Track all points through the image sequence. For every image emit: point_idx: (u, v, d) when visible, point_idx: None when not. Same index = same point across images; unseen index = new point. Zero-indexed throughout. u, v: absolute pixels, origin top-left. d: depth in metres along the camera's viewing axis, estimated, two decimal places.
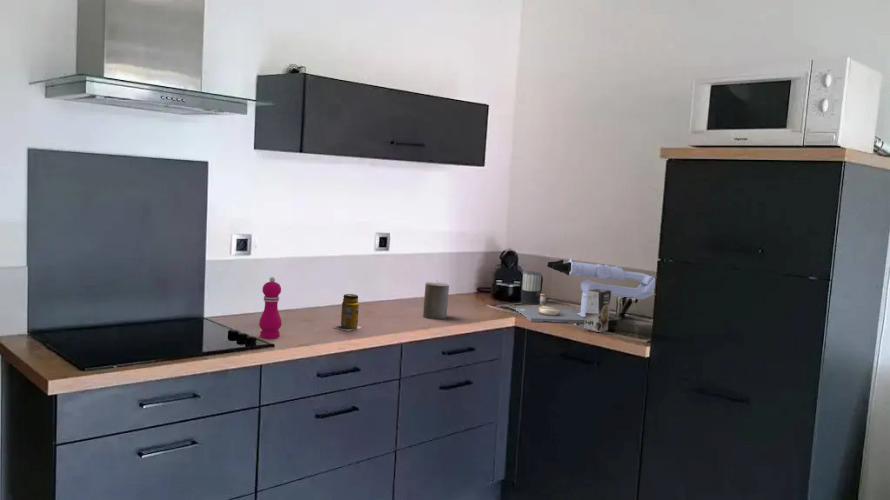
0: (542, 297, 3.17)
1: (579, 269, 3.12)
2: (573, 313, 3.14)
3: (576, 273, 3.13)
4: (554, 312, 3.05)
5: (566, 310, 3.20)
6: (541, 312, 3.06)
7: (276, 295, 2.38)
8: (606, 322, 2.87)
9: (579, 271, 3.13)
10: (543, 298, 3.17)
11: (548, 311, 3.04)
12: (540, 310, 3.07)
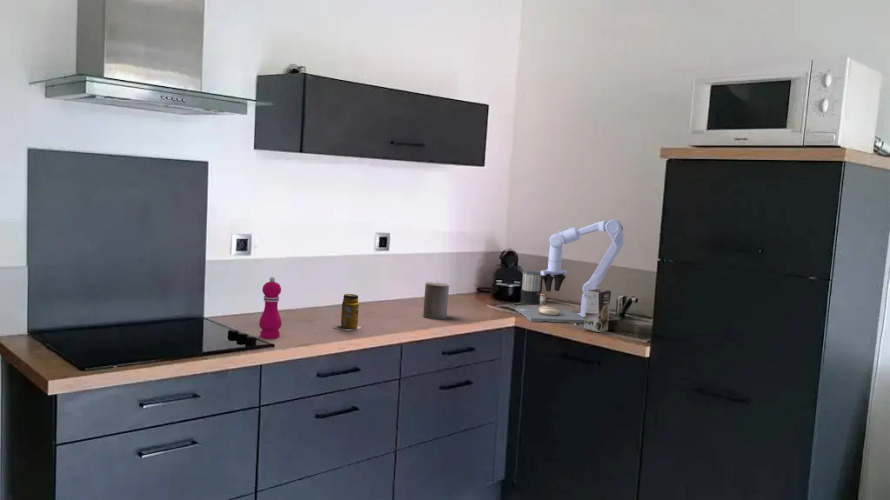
0: (542, 297, 3.17)
1: (550, 263, 3.19)
2: (573, 313, 3.14)
3: (554, 266, 3.18)
4: (554, 312, 3.05)
5: (566, 310, 3.20)
6: (541, 312, 3.06)
7: (276, 295, 2.38)
8: (606, 322, 2.87)
9: (551, 263, 3.19)
10: (543, 298, 3.17)
11: (548, 311, 3.04)
12: (540, 310, 3.07)
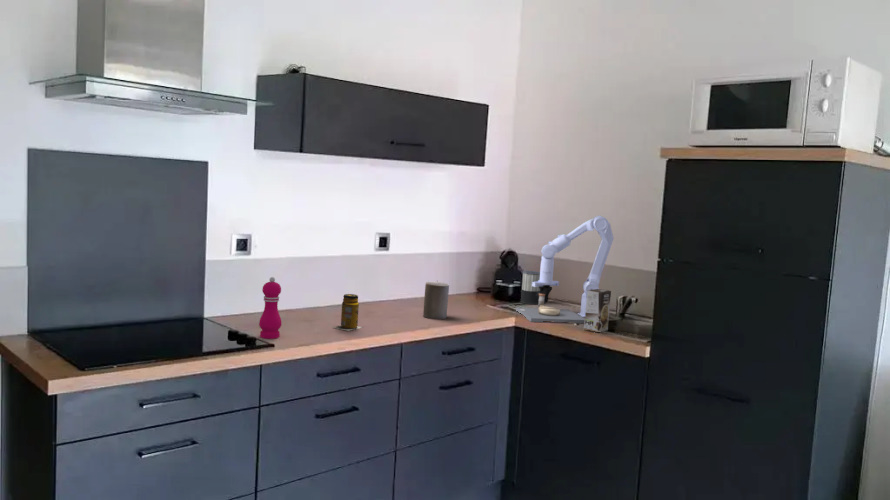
0: (541, 297, 3.17)
1: (541, 275, 3.17)
2: (573, 313, 3.14)
3: (546, 277, 3.16)
4: (555, 312, 3.05)
5: (566, 310, 3.20)
6: (542, 312, 3.06)
7: (276, 295, 2.38)
8: (606, 322, 2.87)
9: (543, 274, 3.17)
10: (542, 298, 3.17)
11: (549, 311, 3.04)
12: (540, 310, 3.07)
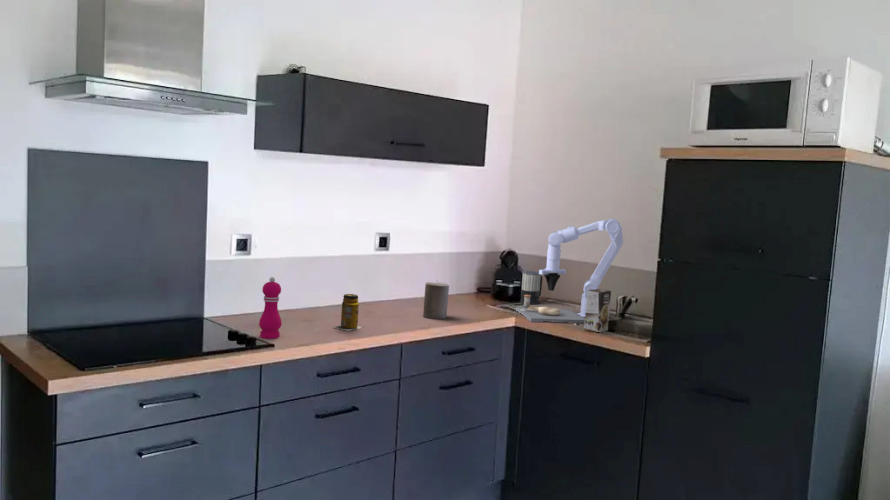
0: (529, 298, 3.11)
1: (548, 262, 3.18)
2: (573, 313, 3.14)
3: (552, 265, 3.17)
4: (559, 311, 3.08)
5: (566, 310, 3.20)
6: (552, 313, 3.04)
7: (276, 295, 2.38)
8: (606, 322, 2.87)
9: (550, 262, 3.17)
10: (529, 299, 3.11)
11: (558, 311, 3.06)
12: (549, 312, 3.04)
